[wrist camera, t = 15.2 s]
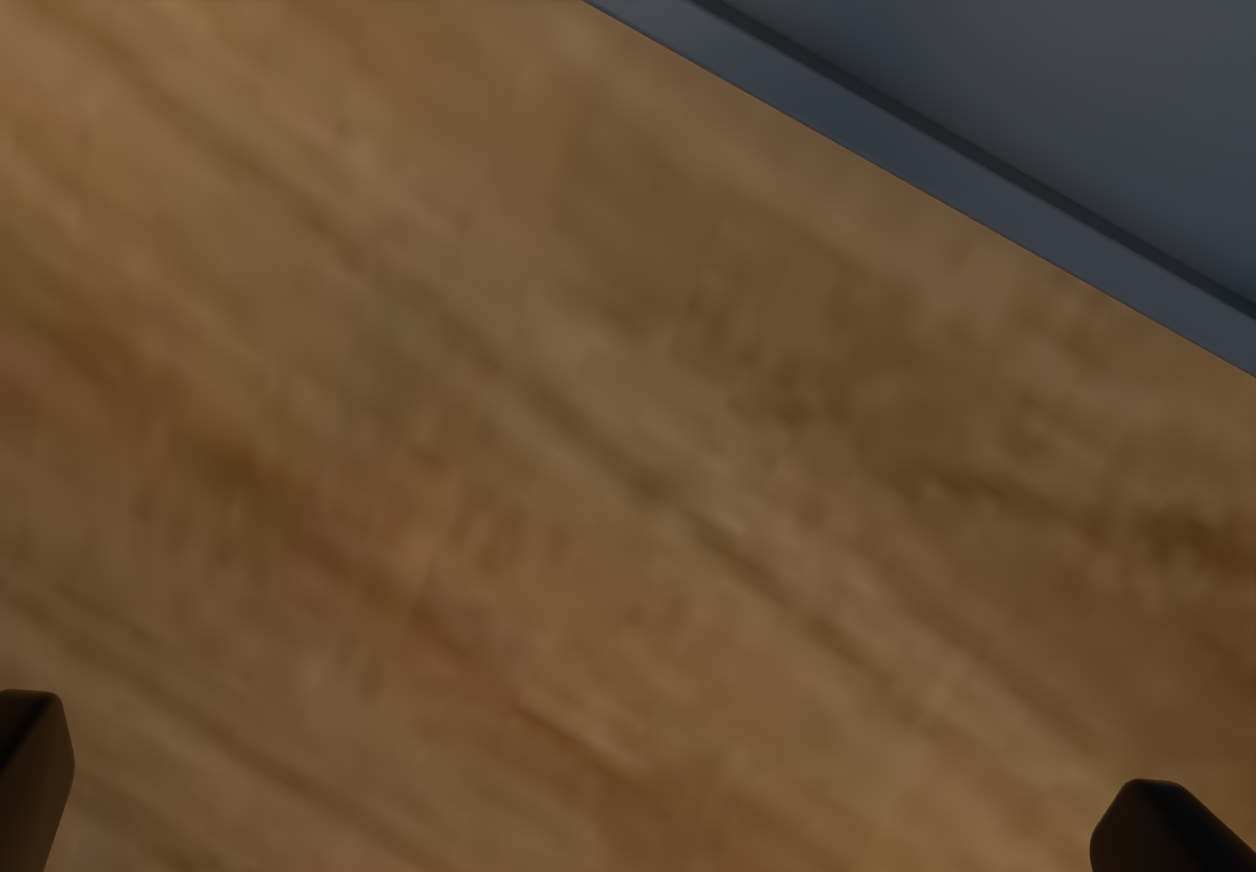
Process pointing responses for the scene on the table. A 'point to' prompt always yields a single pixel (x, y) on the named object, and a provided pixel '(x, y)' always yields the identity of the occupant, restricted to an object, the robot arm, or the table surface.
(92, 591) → the table surface
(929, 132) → the tray
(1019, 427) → the table surface
